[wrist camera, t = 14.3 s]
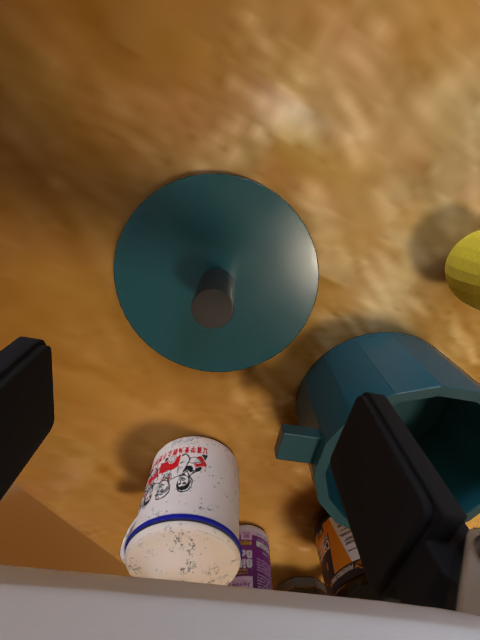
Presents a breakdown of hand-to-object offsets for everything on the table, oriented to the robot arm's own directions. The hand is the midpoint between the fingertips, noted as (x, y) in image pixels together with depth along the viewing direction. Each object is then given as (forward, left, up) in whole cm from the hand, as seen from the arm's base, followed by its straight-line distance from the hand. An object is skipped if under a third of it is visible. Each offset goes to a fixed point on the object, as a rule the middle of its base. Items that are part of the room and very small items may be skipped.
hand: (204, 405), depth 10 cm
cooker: (+10, +16, -16) cm, 25 cm away
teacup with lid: (+22, 0, -17) cm, 27 cm away
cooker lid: (+1, 0, -16) cm, 16 cm away
